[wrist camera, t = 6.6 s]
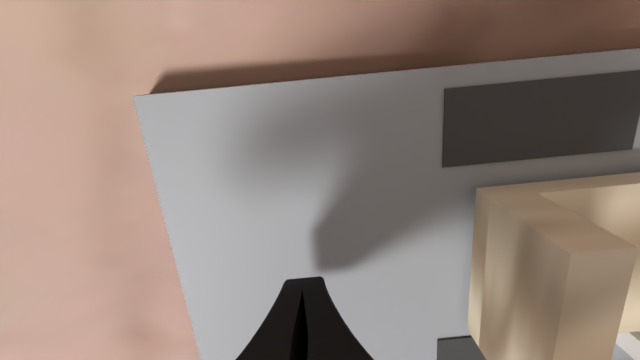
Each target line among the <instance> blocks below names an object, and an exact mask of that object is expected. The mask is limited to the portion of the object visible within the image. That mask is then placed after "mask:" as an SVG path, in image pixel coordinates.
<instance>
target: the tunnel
mask: <svg viewBox="0 0 640 360" xmlns="http://www.w3.org/2000/svg"><path fill="white" fill-rule="evenodd" d="M616 344H617V345H618V346H619V347H620V348H622V349H623V350H624V351H625V352H626V353H627V354H628V355H630V356H631V357H632V358H633V359H634V360H640V331H637V332H627V333H618V335H617V339H616Z"/></svg>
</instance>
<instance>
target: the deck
mask: <svg viewBox="0 0 640 360" xmlns="http://www.w3.org/2000/svg"><path fill="white" fill-rule="evenodd" d="M132 98H133V101H134V105H135V109H136V113H137V117H138V121H139V124H140V128H141V132H142V136H143V140H144V144H145V148H146V151H147V155H148V159H149V163H150V167H151V171H152V174H153V178H154V182H155V186H156V190H157V194H158V197H159V201H160V205H161V209H162V213H163V217H164V220H165V224H166V228H167V232H168V236H169V240H170V244H171V247H172V251H173V255H174V259H175V263H176V267H177V270H178V274H179V278H180V282H181V286H182V290H183V293H184V297H185V301H186V305H187V309H188V313H189V317H190V320H191V324H192V328H193V332H194V336H195V340H196V343H197V347H198V351H199V355H200V359H201V360H236V358H237V357H238V356H239V355H240V353H241V352H242V351H243V350H244V348H245V347H246V346H247V344H248V343H249V342H250V340H251V339H252V337H253V336H254V334H255V333H256V332H257V330H258V329H259V327H260V326H261V324H262V323H263V321H264V319H265V318H266V316H267V314H268V313H269V311H270V309H271V308H272V306H273V304H274V302H275V300H276V298H277V297H278V295H279V293H280V290H281V288H282V286H283V284H284V282H285V281H286V280H287V279H297V278H307V277H318V276H321V277H322V278H324V281H325V285H326V288H327V290H328V293H329V295H330V297H331V299H332V301H333V303H334V305H335V307H336V308H337V310H338V312H339V314H340V315H341V317H342V319H343V320H344V322H345V323H346V325H347V326H348V328H349V329H350V330H351V332H352V333H353V335H354V336H355V337H356V339H357V340H358V341H359V343H360V344H361V345H362V346H363V347H364V349H365V350H366V351H367V352H368V353H369V354H370V356H371V357H372V358H373V359H374V360H486V358H485V357H484V355H483V354H482V352H481V350H480V349H479V347H478V346H477V344H476V342H475V341H474V339H473V337H472V336H471V334H470V333H469V331H468V329H467V324H468V308H469V292H470V276H471V260H472V245H473V229H474V213H475V197H476V188H481V187H491V186H502V185H512V184H522V183H533V182H543V181H553V180H564V179H574V178H584V177H595V176H605V175H615V174H626V173H636V172H640V48H633V49H622V50H611V51H601V52H590V53H579V54H569V55H558V56H548V57H537V58H526V59H516V60H505V61H494V62H484V63H473V64H462V65H452V66H441V67H430V68H420V69H409V70H399V71H388V72H377V73H367V74H356V75H345V76H335V77H324V78H313V79H303V80H292V81H282V82H271V83H260V84H250V85H239V86H228V87H218V88H207V89H196V90H186V91H175V92H165V93H154V94H145V95H139V96H132ZM611 360H634V359H633V358H632V357H631V356H630V355H628V354H627V353H626V352H625V351H624V350H623V349H622V348H620V347H619V346H618V345H617V344H616V343H615V347H614V351H613V355H612V359H611Z"/></svg>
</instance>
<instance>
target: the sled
mask: <svg viewBox="0 0 640 360" xmlns="http://www.w3.org/2000/svg"><path fill="white" fill-rule="evenodd" d="M467 329H468V331H469V333H470V334H471V336H472V337H473V339H474V341H475V342H476V344H477V346H478V347H479V349H480V350H481V352H482V354H483V355H484V357H485V358H486V360H611V359H612V355H613V351H614V347H615V343H616V339H617V335H618V333H627V332H637V331H640V172H636V173H626V174H615V175H605V176H595V177H584V178H574V179H564V180H553V181H543V182H533V183H522V184H512V185H502V186H491V187H481V188H476V197H475V213H474V229H473V245H472V260H471V276H470V292H469V308H468V324H467Z"/></svg>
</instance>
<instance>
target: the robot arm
mask: <svg viewBox="0 0 640 360" xmlns="http://www.w3.org/2000/svg"><path fill="white" fill-rule="evenodd" d="M236 360H374V359H373V358H372V357H371V356H370V354H369V353H368V352H367V351H366V350H365V349H364V347H363V346H362V345H361V344H360V343H359V341H358V340H357V339H356V337H355V336H354V335H353V333H352V332H351V330H350V329H349V328H348V326H347V325H346V323H345V322H344V320H343V319H342V317H341V315H340V314H339V312H338V310H337V308H336V307H335V305H334V303H333V301H332V299H331V297H330V295H329V293H328V290H327V288H326V285H325V281H324V278H322V277H321V276H318V277H307V278H297V279H287V280H286V281H285V282H284V284H283V286H282V288H281V290H280V293H279V295H278V297H277V298H276V300H275V302H274V304H273V306H272V308H271V309H270V311H269V313H268V314H267V316H266V318H265V319H264V321H263V323H262V324H261V326H260V327H259V329H258V330H257V332H256V333H255V334H254V336H253V337H252V339H251V340H250V342H249V343H248V344H247V346H246V347H245V348H244V350H243V351H242V352H241V353H240V355H239V356H238V357H237V358H236Z"/></svg>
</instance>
